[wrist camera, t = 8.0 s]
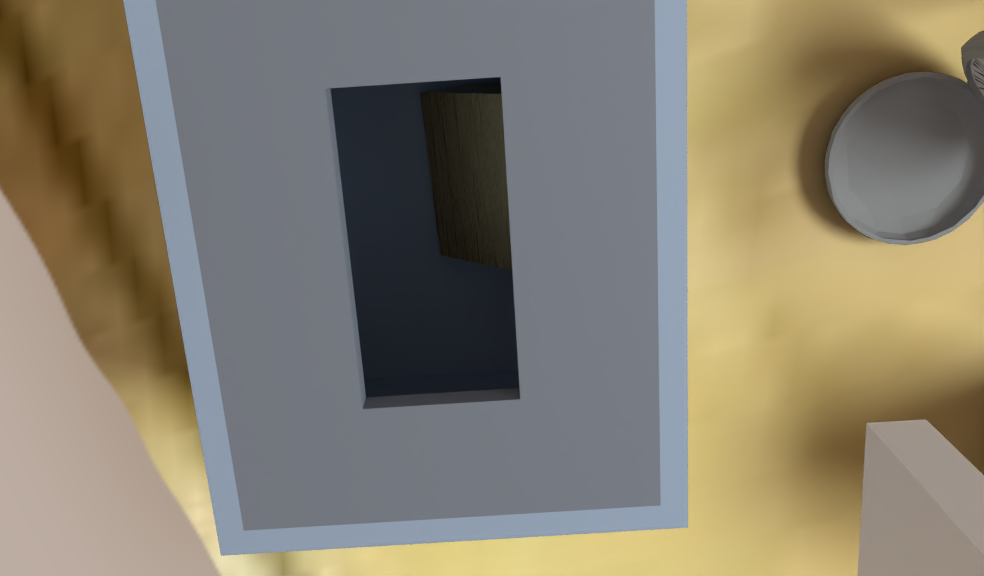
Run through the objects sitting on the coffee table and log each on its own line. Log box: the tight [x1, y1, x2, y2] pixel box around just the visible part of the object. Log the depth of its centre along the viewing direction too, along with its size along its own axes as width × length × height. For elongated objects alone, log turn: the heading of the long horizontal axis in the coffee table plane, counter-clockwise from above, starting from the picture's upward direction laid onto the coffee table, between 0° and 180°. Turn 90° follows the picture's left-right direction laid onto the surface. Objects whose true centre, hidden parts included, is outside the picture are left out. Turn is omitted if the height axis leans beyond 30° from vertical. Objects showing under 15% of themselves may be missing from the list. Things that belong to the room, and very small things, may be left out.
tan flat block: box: [420, 83, 512, 270], centre depth 32 cm, size 6×2×7 cm
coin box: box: [123, 0, 688, 556], centre depth 31 cm, size 18×14×12 cm
